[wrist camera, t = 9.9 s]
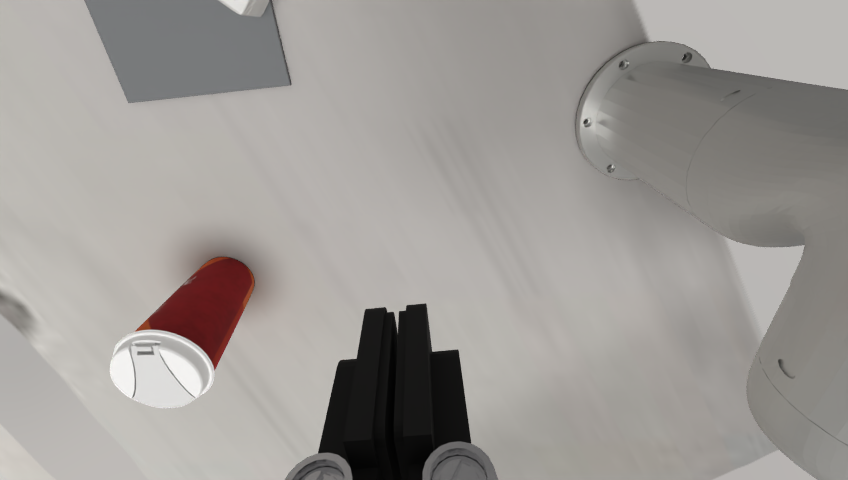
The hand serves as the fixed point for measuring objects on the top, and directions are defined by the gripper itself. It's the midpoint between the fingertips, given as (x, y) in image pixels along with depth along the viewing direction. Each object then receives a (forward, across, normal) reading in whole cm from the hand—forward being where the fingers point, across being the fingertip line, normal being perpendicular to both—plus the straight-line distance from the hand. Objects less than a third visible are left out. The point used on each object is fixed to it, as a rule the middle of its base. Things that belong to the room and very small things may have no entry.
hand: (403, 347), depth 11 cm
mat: (+31, +18, -11) cm, 38 cm away
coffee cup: (+31, +23, +16) cm, 42 cm away
